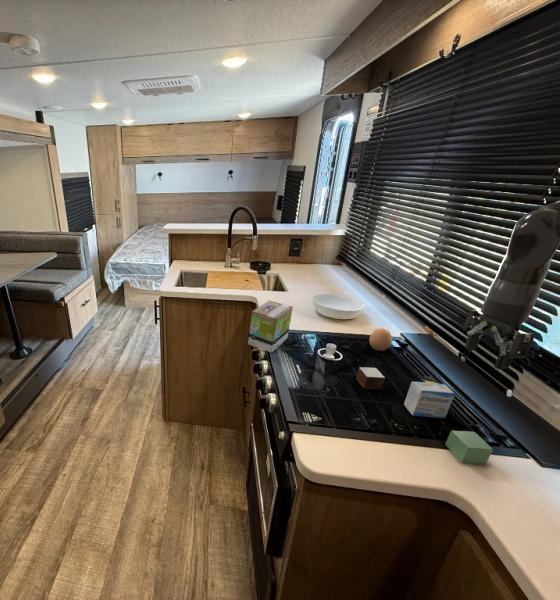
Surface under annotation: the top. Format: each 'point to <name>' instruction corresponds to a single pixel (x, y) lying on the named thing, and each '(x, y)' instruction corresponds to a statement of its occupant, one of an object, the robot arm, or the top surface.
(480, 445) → the sage block
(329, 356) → the white ring with knob
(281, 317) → the tea box
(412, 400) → the medicine box
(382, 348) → the egg
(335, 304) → the serving bowl
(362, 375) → the walnut block
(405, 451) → the top surface
